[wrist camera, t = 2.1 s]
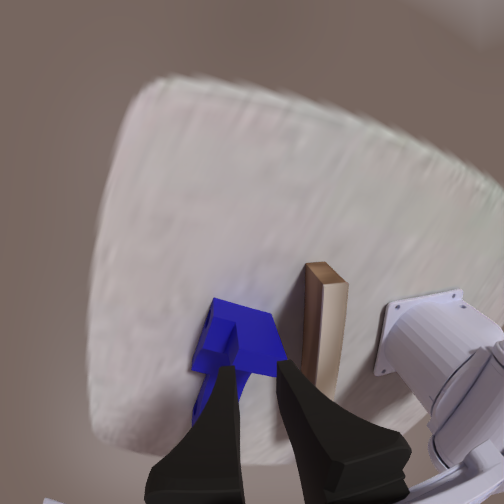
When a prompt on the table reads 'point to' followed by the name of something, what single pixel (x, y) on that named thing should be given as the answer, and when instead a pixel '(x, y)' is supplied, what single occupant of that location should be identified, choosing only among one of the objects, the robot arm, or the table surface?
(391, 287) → the table surface
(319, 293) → the bar
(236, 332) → the cable clip
